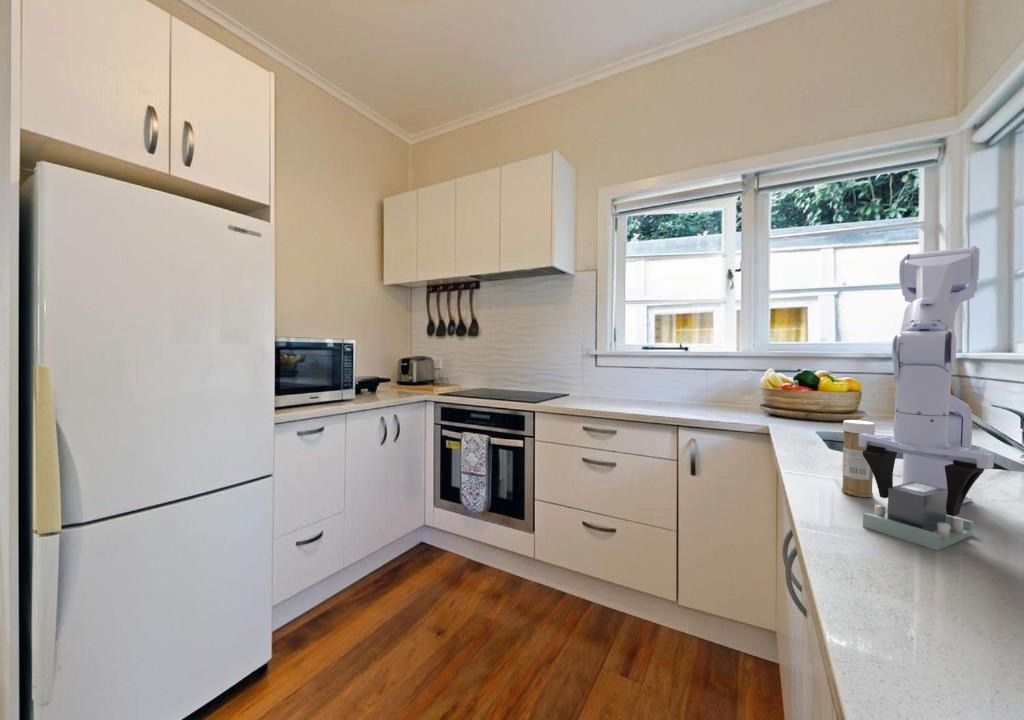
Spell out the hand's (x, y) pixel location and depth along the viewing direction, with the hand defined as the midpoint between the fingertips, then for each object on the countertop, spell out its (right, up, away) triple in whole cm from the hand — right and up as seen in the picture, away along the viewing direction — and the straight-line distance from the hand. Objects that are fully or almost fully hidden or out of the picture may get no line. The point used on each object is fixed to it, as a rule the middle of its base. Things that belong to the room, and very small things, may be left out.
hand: (917, 505), depth 63 cm
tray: (0, -4, 0) cm, 4 cm away
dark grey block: (0, -3, 0) cm, 3 cm away
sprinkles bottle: (+4, -4, +16) cm, 17 cm away
